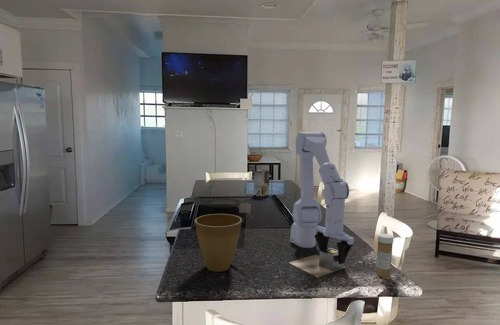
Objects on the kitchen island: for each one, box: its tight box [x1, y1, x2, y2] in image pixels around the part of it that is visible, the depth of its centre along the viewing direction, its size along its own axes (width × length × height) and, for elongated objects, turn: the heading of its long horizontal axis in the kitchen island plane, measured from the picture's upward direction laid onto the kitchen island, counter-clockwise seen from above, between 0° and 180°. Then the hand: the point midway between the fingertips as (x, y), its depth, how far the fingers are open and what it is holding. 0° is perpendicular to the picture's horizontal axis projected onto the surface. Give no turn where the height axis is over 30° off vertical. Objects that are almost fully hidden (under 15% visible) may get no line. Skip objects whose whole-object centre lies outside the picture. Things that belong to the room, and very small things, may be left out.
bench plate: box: [288, 254, 346, 278], centre depth 115 cm, size 13×13×1 cm
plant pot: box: [194, 213, 243, 273], centre depth 113 cm, size 15×15×16 cm
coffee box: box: [253, 169, 270, 198], centre depth 225 cm, size 9×6×16 cm
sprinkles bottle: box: [375, 233, 394, 280], centre depth 109 cm, size 5×5×13 cm
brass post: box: [327, 250, 338, 254], centre depth 114 cm, size 2×2×6 cm
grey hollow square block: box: [318, 247, 345, 272], centre depth 114 cm, size 6×6×5 cm
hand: (332, 259), depth 114 cm, fingers open, 7 cm apart
